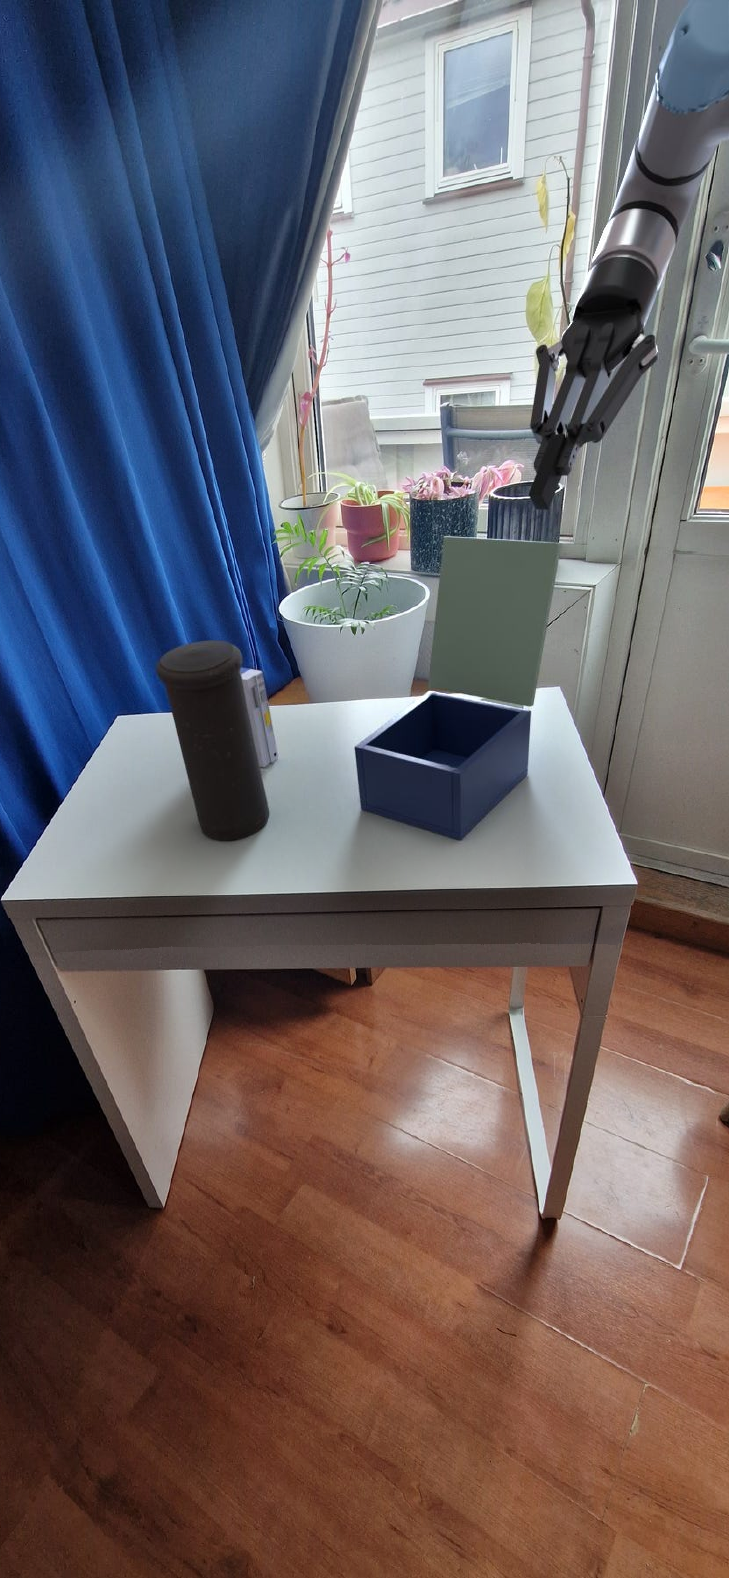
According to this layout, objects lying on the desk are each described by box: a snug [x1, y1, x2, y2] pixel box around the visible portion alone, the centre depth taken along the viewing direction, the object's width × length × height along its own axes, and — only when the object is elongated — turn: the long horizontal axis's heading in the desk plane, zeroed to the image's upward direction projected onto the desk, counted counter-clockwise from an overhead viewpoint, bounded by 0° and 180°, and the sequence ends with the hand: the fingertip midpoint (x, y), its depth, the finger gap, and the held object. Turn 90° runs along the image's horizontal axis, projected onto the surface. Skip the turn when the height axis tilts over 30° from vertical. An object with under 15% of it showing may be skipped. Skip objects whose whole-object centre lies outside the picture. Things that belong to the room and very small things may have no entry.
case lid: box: [427, 535, 563, 707], centre depth 80 cm, size 16×13×1 cm
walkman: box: [240, 666, 279, 768], centre depth 94 cm, size 8×3×12 cm, turn 52°
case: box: [354, 690, 532, 841], centre depth 83 cm, size 15×13×8 cm
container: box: [156, 639, 270, 841], centre depth 80 cm, size 9×9×20 cm
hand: (538, 502), depth 80 cm, fingers closed
